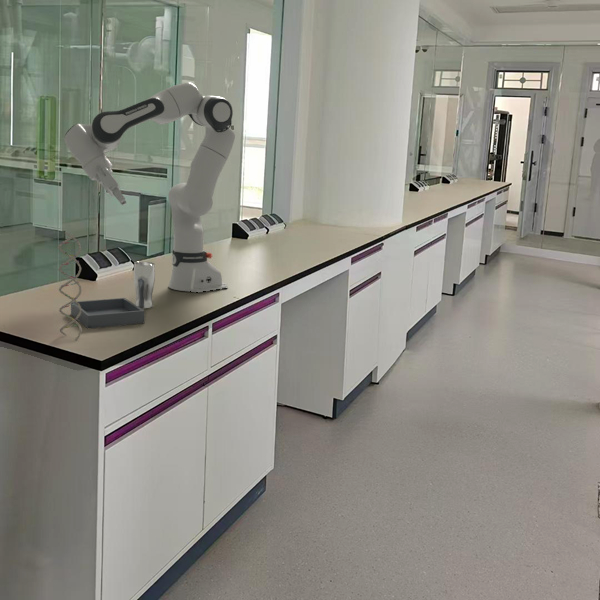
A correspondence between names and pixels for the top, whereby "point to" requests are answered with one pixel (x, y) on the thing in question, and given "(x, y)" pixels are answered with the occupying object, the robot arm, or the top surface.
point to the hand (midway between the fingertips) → (124, 202)
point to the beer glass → (144, 283)
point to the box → (107, 312)
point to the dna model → (71, 284)
